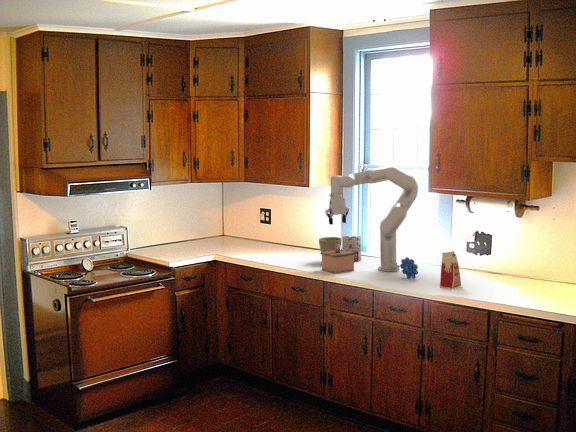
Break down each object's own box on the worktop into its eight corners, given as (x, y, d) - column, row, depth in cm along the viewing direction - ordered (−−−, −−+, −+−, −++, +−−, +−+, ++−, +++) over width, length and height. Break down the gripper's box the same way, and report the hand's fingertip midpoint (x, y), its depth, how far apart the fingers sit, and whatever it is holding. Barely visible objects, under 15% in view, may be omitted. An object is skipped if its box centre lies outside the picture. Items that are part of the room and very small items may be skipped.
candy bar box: (361, 260, 428) (361, 235, 426) (358, 261, 424) (358, 236, 422) (345, 259, 434) (345, 234, 431) (342, 260, 429) (342, 236, 427)
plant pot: (320, 260, 431) (320, 236, 429) (343, 260, 428) (342, 237, 426) (317, 265, 416) (317, 240, 414) (340, 265, 413) (340, 240, 411)
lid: (355, 256, 397) (354, 244, 396) (335, 259, 389) (334, 247, 388) (340, 252, 410) (339, 241, 409) (320, 255, 402) (320, 244, 401)
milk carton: (461, 286, 352) (461, 249, 349) (453, 289, 345) (453, 252, 342) (446, 284, 358) (446, 248, 355) (437, 287, 351) (437, 250, 348)
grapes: (396, 278, 375) (396, 257, 374) (402, 275, 380) (402, 255, 379) (414, 280, 368) (414, 259, 366) (420, 278, 373) (420, 257, 371)
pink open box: (354, 270, 398) (353, 254, 397) (335, 273, 391) (335, 257, 390) (340, 266, 410) (339, 251, 409) (322, 269, 403) (321, 253, 401)
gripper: (328, 197, 390) (329, 225, 392) (352, 195, 399) (352, 222, 401) (321, 196, 397) (322, 224, 399) (345, 194, 405) (345, 221, 407)
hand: (337, 223), depth 400 cm, fingers open, 9 cm apart
